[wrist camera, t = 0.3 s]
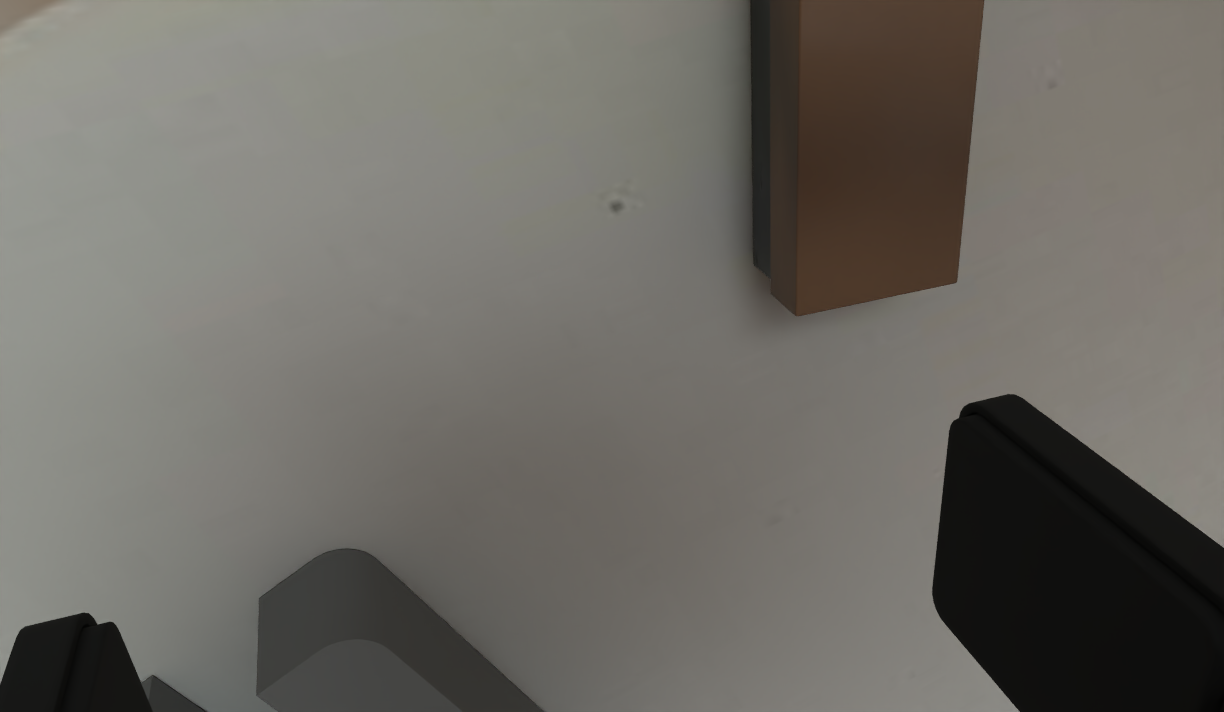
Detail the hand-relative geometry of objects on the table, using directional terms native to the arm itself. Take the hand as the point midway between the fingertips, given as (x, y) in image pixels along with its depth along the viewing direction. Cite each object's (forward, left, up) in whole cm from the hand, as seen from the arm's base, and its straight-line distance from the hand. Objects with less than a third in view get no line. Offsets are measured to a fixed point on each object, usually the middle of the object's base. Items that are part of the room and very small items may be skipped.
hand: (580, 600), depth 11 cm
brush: (-1, +10, -14) cm, 18 cm away
